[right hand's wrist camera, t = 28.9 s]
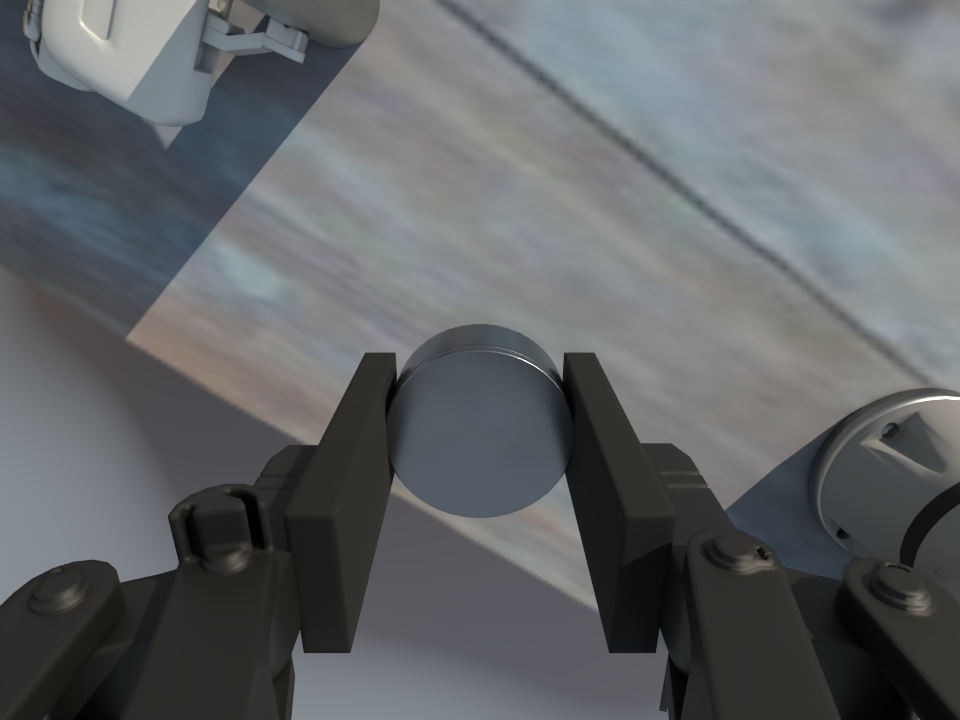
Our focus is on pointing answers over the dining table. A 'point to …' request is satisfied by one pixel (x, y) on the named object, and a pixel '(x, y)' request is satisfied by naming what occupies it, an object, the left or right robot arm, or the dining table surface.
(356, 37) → the bottle
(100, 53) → the left robot arm
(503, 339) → the cap
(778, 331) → the dining table surface
